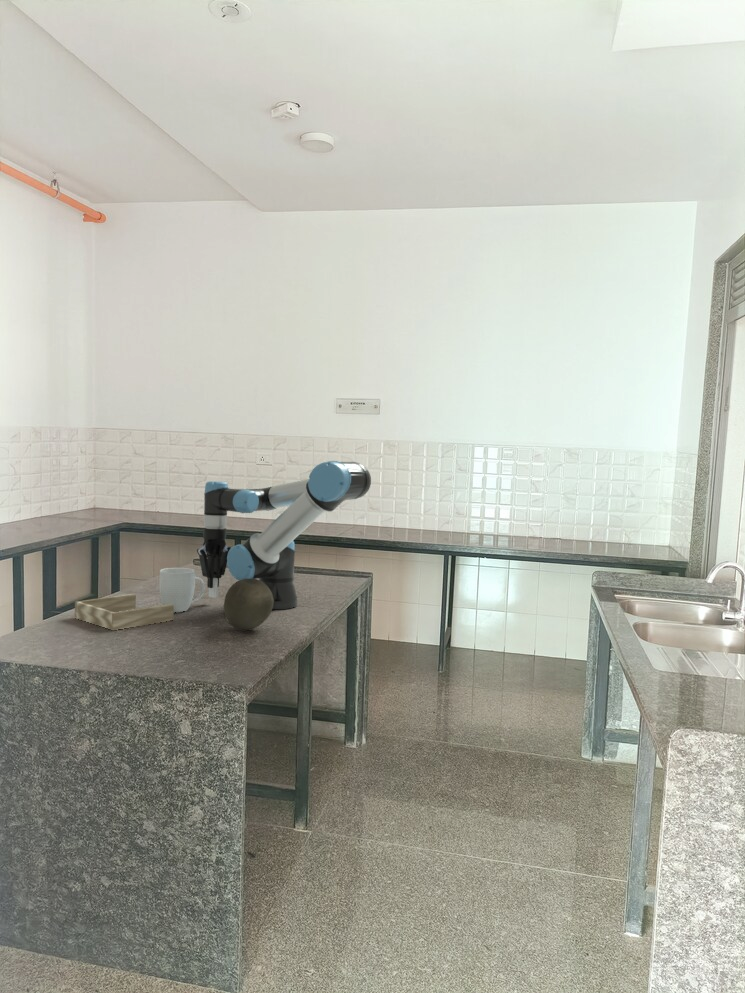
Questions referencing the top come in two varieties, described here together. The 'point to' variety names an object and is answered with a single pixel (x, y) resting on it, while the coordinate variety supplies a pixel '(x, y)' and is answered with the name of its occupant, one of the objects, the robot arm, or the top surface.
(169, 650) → the top surface
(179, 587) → the mug
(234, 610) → the cantaloupe
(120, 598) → the corral
